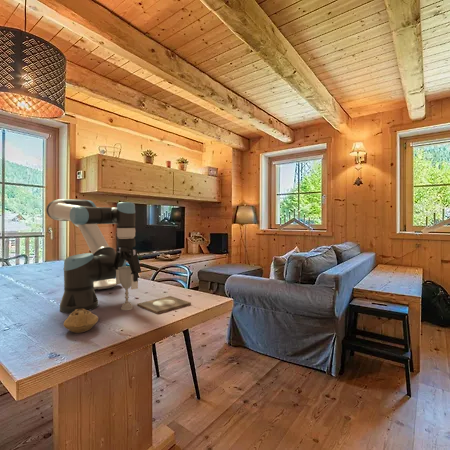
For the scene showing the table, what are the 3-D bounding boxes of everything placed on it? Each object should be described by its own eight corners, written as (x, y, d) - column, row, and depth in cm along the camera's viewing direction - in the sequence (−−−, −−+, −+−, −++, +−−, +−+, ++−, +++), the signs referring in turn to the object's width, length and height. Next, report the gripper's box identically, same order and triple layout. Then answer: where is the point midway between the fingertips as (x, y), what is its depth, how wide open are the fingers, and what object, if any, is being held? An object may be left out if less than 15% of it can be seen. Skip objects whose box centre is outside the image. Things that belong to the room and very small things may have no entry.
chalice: (117, 311, 122) (116, 269, 122) (118, 306, 129) (118, 266, 128) (135, 310, 124) (135, 268, 124) (135, 305, 131) (135, 265, 130)
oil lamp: (89, 320, 112) (89, 299, 112) (103, 331, 101) (102, 308, 101) (57, 327, 105) (57, 305, 105) (68, 340, 94) (68, 315, 94)
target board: (157, 314, 119) (157, 311, 119) (137, 305, 130) (137, 303, 130) (190, 304, 132) (190, 302, 132) (170, 297, 143) (170, 295, 143)
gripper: (149, 238, 120) (149, 289, 120) (121, 236, 137) (121, 280, 138) (132, 239, 114) (133, 292, 115) (105, 236, 132) (105, 283, 132)
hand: (126, 286), depth 126 cm, fingers open, 13 cm apart
